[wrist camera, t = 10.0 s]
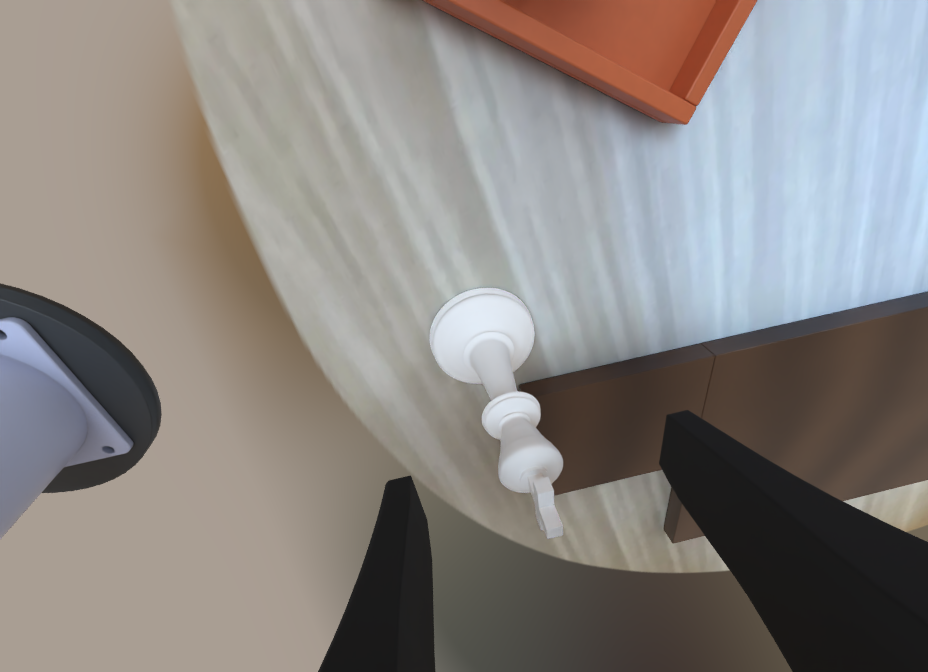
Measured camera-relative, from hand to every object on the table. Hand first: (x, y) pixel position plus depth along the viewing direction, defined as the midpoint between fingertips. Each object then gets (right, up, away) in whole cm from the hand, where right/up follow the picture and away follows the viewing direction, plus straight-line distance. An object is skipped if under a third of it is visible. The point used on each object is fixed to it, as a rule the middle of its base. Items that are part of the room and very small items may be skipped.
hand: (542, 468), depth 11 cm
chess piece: (-1, +4, +8) cm, 9 cm away
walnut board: (+18, -3, +15) cm, 23 cm away
